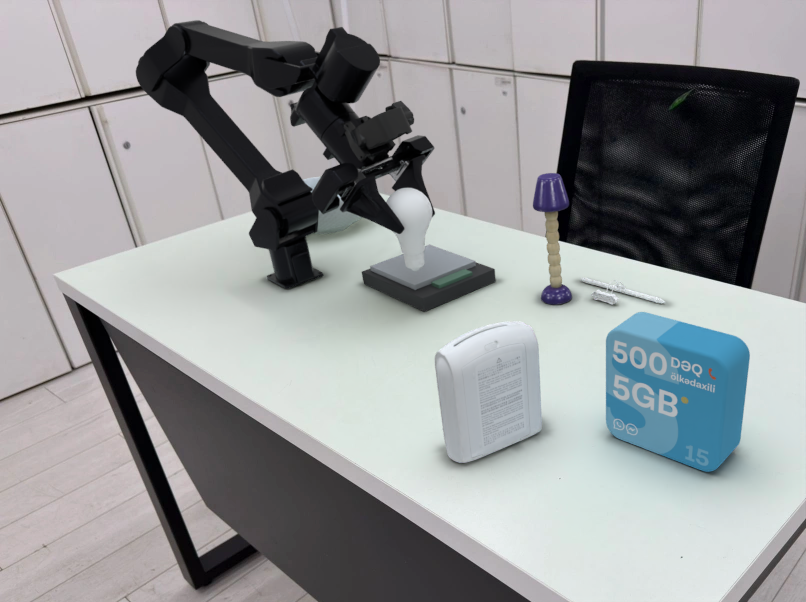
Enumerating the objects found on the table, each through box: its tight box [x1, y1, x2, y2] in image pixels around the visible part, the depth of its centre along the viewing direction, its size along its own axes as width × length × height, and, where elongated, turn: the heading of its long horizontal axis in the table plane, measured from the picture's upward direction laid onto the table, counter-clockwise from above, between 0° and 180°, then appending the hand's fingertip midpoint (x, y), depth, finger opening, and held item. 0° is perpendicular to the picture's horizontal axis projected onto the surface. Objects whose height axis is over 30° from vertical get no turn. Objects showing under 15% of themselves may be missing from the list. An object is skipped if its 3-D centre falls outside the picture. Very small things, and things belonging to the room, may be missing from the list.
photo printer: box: [434, 320, 543, 464], centre depth 70 cm, size 10×4×12 cm, turn 123°
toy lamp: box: [532, 172, 573, 305], centre depth 97 cm, size 5×5×17 cm
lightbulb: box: [385, 188, 433, 271], centre depth 97 cm, size 6×6×11 cm
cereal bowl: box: [302, 175, 363, 235], centre depth 132 cm, size 17×17×7 cm
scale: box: [361, 244, 497, 312], centre depth 108 cm, size 15×13×3 cm
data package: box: [605, 311, 751, 473], centre depth 68 cm, size 12×4×12 cm, turn 50°
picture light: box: [579, 277, 666, 305], centre depth 100 cm, size 14×4×2 cm, turn 48°
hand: (417, 223), depth 95 cm, fingers closed on lightbulb, 6 cm apart
